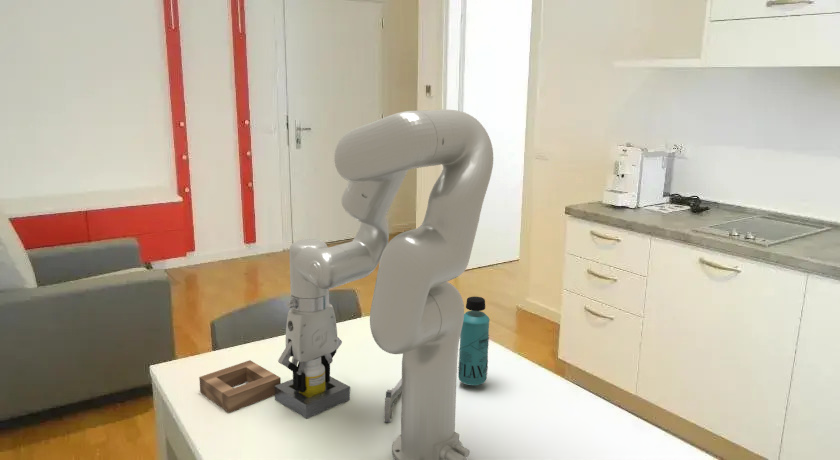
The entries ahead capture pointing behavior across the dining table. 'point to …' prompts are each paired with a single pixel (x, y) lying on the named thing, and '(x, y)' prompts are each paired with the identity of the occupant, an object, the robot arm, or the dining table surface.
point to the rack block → (233, 399)
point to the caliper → (391, 400)
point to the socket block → (315, 404)
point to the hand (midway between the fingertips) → (312, 384)
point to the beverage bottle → (474, 343)
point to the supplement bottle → (314, 377)
